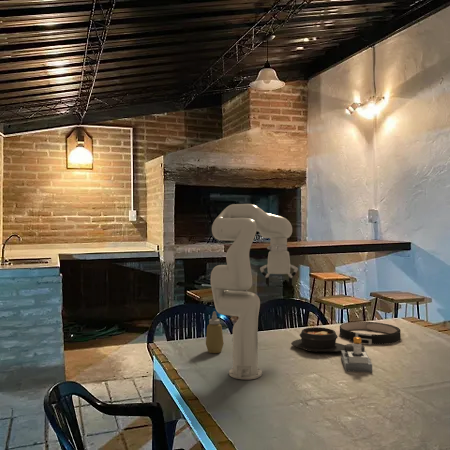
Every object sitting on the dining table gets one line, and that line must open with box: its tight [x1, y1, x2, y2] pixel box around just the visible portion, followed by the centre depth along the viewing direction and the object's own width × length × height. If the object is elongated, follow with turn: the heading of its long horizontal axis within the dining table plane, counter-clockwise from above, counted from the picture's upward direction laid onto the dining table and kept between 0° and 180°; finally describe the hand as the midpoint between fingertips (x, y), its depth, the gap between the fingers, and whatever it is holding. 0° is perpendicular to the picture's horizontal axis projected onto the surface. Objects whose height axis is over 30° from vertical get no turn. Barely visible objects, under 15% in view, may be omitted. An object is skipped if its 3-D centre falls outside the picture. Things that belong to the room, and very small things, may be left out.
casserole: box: [290, 326, 346, 354], centre depth 208 cm, size 25×19×8 cm
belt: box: [339, 321, 401, 345], centre depth 230 cm, size 29×30×5 cm
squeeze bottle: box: [205, 311, 224, 354], centre depth 205 cm, size 8×8×18 cm
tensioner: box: [340, 343, 373, 373], centre depth 186 cm, size 18×10×7 cm, turn 171°
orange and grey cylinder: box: [352, 337, 362, 356], centre depth 181 cm, size 3×3×9 cm
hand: (278, 286), depth 209 cm, fingers open, 9 cm apart
